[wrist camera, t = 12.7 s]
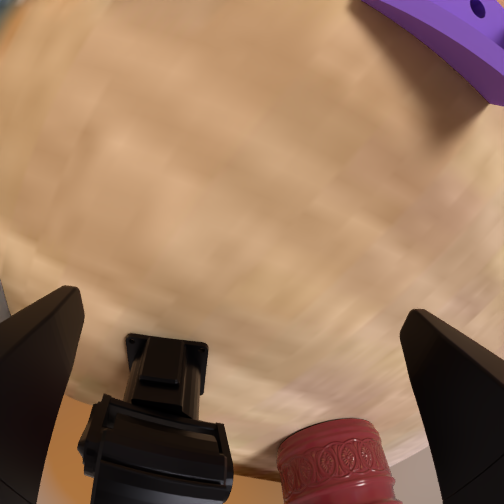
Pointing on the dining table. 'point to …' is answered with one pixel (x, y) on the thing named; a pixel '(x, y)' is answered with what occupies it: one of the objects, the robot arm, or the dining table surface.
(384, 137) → the dining table surface
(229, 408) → the dining table surface
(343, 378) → the dining table surface
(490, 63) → the bracket
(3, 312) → the tray
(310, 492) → the canister
